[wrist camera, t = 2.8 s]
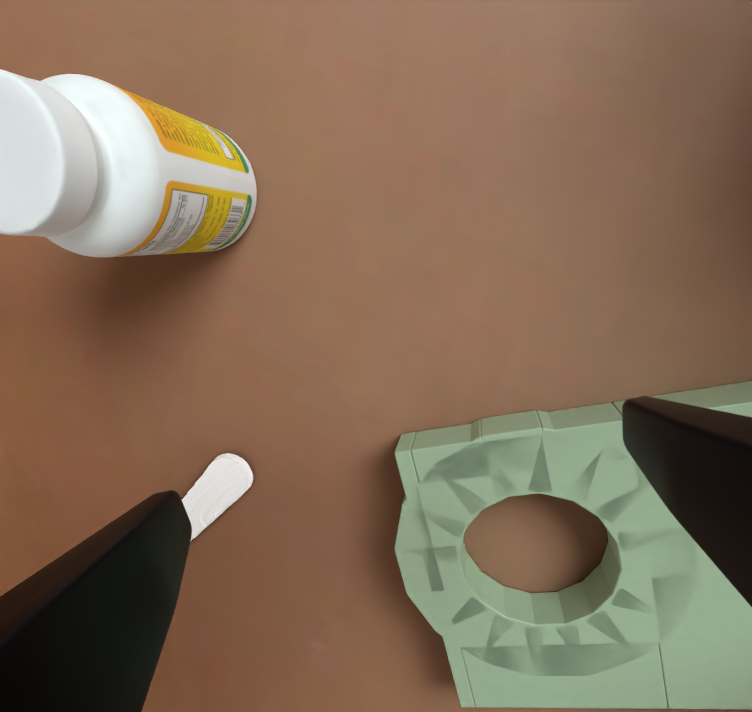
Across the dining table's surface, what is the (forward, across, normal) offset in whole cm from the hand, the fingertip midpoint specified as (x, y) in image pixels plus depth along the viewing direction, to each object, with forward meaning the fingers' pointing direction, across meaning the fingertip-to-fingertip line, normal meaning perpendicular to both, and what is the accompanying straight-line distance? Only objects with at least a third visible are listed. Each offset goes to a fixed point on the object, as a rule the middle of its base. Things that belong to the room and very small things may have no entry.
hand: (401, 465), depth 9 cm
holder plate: (+9, -8, +12) cm, 17 cm away
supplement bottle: (+15, +6, -7) cm, 17 cm away
